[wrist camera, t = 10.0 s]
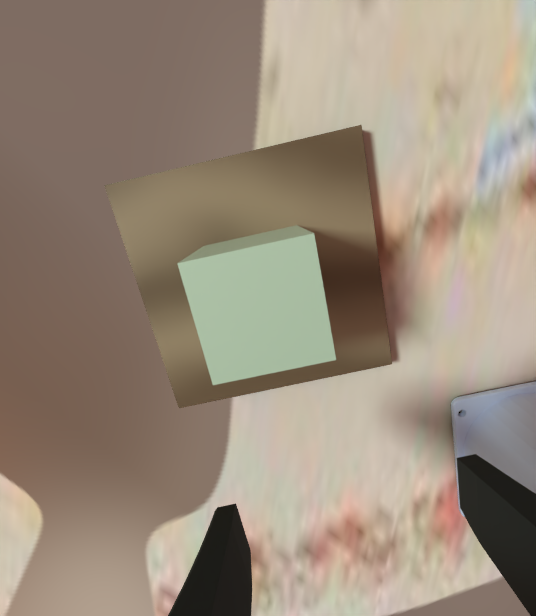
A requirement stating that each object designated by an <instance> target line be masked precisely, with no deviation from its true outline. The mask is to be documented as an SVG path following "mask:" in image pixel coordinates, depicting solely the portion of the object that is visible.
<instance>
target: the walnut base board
mask: <svg viewBox="0 0 536 616" xmlns="http://www.w3.org/2000/svg"><path fill="white" fill-rule="evenodd" d="M105 189H106V192H107V195H108V197H109V201H110V204H111V206H112V209H113V212H114V215H115V218H116V221H117V224H118V227H119V230H120V233H121V236H122V239H123V242H124V245H125V248H126V251H127V254H128V257H129V260H130V263H131V266H132V269H133V272H134V275H135V278H136V281H137V284H138V287H139V290H140V293H141V296H142V299H143V302H144V305H145V308H146V311H147V314H148V317H149V320H150V323H151V326H152V329H153V332H154V335H155V338H156V341H157V344H158V347H159V350H160V353H161V356H162V359H163V362H164V365H165V367H166V371H167V374H168V377H169V380H170V383H171V386H172V389H173V391H174V395H175V398H176V401H177V403H178V407H179V408H182V407H187V406H192V405H197V404H202V403H207V402H211V401H216V400H221V399H226V398H231V397H236V396H240V395H245V394H250V393H255V392H260V391H265V390H269V389H274V388H279V387H284V386H289V385H293V384H298V383H303V382H308V381H313V380H318V379H322V378H327V377H332V376H337V375H342V374H347V373H351V372H356V371H361V370H366V369H371V368H375V367H380V366H385V365H390V364H392V360H391V352H390V344H389V336H388V329H387V321H386V313H385V305H384V298H383V290H382V282H381V274H380V266H379V259H378V251H377V243H376V235H375V227H374V220H373V212H372V204H371V196H370V188H369V181H368V173H367V165H366V157H365V150H364V142H363V134H362V126H361V125H359V126H355V127H350V128H346V129H342V130H338V131H334V132H329V133H325V134H321V135H317V136H312V137H308V138H304V139H300V140H295V141H291V142H287V143H283V144H278V145H274V146H270V147H266V148H261V149H257V150H253V151H249V152H245V153H240V154H236V155H232V156H228V157H223V158H219V159H215V160H211V161H206V162H202V163H198V164H194V165H189V166H185V167H181V168H177V169H173V170H168V171H164V172H160V173H156V174H151V175H147V176H143V177H139V178H134V179H131V180H126V181H122V182H117V183H113V184H109V185H105ZM296 225H297V226H300V227H302V228H304V229H306V230H308V231H311V232H313V233H314V235H315V241H316V247H317V252H318V258H319V264H320V270H321V275H322V281H323V287H324V292H325V298H326V304H327V310H328V315H329V321H330V327H331V333H332V338H333V344H334V350H335V356H336V360H333V361H329V362H324V363H319V364H314V365H309V366H304V367H300V368H295V369H290V370H285V371H280V372H275V373H270V374H266V375H261V376H256V377H251V378H246V379H241V380H236V381H232V382H227V383H222V384H217V385H213V384H212V381H211V377H210V374H209V370H208V367H207V363H206V360H205V357H204V353H203V350H202V346H201V343H200V339H199V336H198V333H197V329H196V326H195V322H194V319H193V316H192V312H191V309H190V305H189V302H188V298H187V295H186V292H185V288H184V285H183V281H182V278H181V274H180V271H179V268H178V264H177V263H179V262H180V261H182V260H183V259H185V258H186V257H188V256H189V255H191V254H192V253H194V252H195V251H197V250H198V249H200V248H201V247H203V246H206V245H210V244H215V243H219V242H224V241H228V240H233V239H237V238H242V237H246V236H251V235H255V234H260V233H264V232H269V231H273V230H278V229H282V228H287V227H291V226H296Z"/></svg>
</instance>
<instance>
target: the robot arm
mask: <svg viewBox="0 0 536 616" xmlns="http://www.w3.org/2000/svg"><path fill="white" fill-rule="evenodd" d="M461 410H463V411H462V412H461V413H459V414H458V412H459V411H461ZM451 414H452V426H453V439H454V452H455V465H456V478H457V490H458V503H459V511H460V512H461V514H462V515H463V516H464V517H466V519H467V521H468V523H469V525H470V527H471V528H472V530H473V532H474V533H475V535H476V537H477V539H478V540H479V542H480V544H481V545H482V547H483V548H484V550H485V551H486V552H487V554H488V555H489V557H490V558H491V560H492V561H493V563H494V564H495V565H496V567H497V568H498V570H499V571H500V573H501V574H502V575H503V577H504V578H505V580H506V581H507V583H508V584H509V585H510V587H511V588H512V589H513V591H514V592H515V594H516V595H517V597H518V598H519V600H520V601H521V602H522V604H523V605H524V607H525V608H526V610H527V611H528V612H529V613H530V615H531V616H536V381H534V382H529V383H524V384H519V385H514V386H509V387H504V388H500V389H495V390H490V391H485V392H480V393H475V394H470V395H465V396H460V397H456V398H455V399H453V400H452V402H451ZM251 603H252V572H251V552H250V547H249V544H248V541H247V538H246V535H245V531H244V528H243V525H242V522H241V519H240V515H239V512H238V509H237V506H236V504H232V505H227V506H223V507H218V508H217V509H216V510H215V513H214V515H213V518H212V521H211V523H210V526H209V528H208V531H207V533H206V536H205V538H204V541H203V543H202V545H201V548H200V550H199V552H198V555H197V557H196V559H195V561H194V563H193V566H192V568H191V570H190V572H189V575H188V577H187V579H186V581H185V583H184V585H183V587H182V589H181V591H180V593H179V595H178V597H177V599H176V601H175V603H174V605H173V607H172V609H171V611H170V613H169V615H168V616H251Z"/></svg>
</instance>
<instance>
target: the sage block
mask: <svg viewBox="0 0 536 616" xmlns="http://www.w3.org/2000/svg"><path fill="white" fill-rule="evenodd" d="M177 264H178V268H179V271H180V274H181V278H182V281H183V285H184V288H185V292H186V295H187V298H188V302H189V305H190V309H191V312H192V316H193V319H194V322H195V326H196V329H197V333H198V336H199V339H200V343H201V346H202V350H203V353H204V357H205V360H206V363H207V367H208V370H209V374H210V377H211V381H212V384H213V385H217V384H222V383H227V382H232V381H236V380H241V379H246V378H251V377H256V376H261V375H266V374H270V373H275V372H280V371H285V370H290V369H295V368H300V367H304V366H309V365H314V364H319V363H324V362H329V361H333V360H336V356H335V350H334V344H333V338H332V333H331V327H330V321H329V315H328V310H327V304H326V298H325V292H324V287H323V281H322V275H321V270H320V264H319V258H318V252H317V247H316V241H315V235H314V233H313V232H311V231H308V230H306V229H304V228H302V227H300V226H297V225H296V226H291V227H287V228H282V229H278V230H273V231H269V232H264V233H260V234H255V235H251V236H246V237H242V238H237V239H233V240H228V241H224V242H219V243H215V244H210V245H206V246H203V247H201V248H200V249H198V250H197V251H195V252H194V253H192V254H191V255H189V256H188V257H186V258H185V259H183V260H182V261H180V262H179V263H177Z"/></svg>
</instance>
